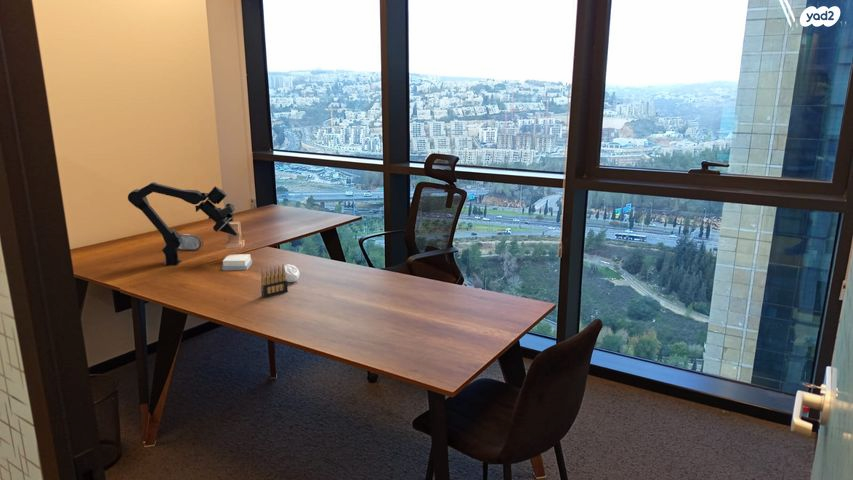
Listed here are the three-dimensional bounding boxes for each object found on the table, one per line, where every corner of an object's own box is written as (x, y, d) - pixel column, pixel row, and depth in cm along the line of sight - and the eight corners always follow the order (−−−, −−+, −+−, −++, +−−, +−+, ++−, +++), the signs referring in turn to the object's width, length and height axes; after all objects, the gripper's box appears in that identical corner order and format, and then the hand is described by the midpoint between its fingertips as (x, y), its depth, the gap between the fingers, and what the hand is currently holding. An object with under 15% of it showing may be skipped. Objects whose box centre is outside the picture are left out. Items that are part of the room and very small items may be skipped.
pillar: (241, 248, 276) (239, 224, 273) (226, 248, 276) (224, 224, 273) (244, 244, 283) (242, 220, 280) (229, 245, 282) (227, 221, 279)
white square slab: (245, 265, 267) (244, 260, 266) (223, 266, 266) (222, 260, 266) (250, 259, 277) (250, 254, 276) (229, 259, 276) (228, 254, 275)
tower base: (247, 271, 267) (246, 266, 266) (222, 271, 266) (222, 266, 266) (252, 264, 278) (251, 259, 277) (228, 264, 277) (228, 259, 276)
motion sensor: (294, 285, 247) (293, 268, 245) (278, 284, 248) (277, 266, 246) (302, 279, 254) (301, 262, 252) (286, 278, 256) (285, 261, 254)
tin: (204, 249, 300) (202, 233, 298) (201, 251, 297) (199, 235, 295) (176, 248, 301) (174, 232, 299) (173, 250, 298) (171, 234, 296)
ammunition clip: (285, 290, 241) (284, 263, 237) (288, 291, 239) (286, 264, 236) (261, 296, 234) (259, 268, 231) (263, 297, 233) (261, 269, 229)
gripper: (218, 203, 264) (244, 226, 268) (228, 195, 282) (252, 217, 286) (201, 220, 265) (228, 243, 269) (212, 211, 283) (237, 233, 287)
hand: (237, 233), depth 278 cm, fingers closed on pillar, 5 cm apart
